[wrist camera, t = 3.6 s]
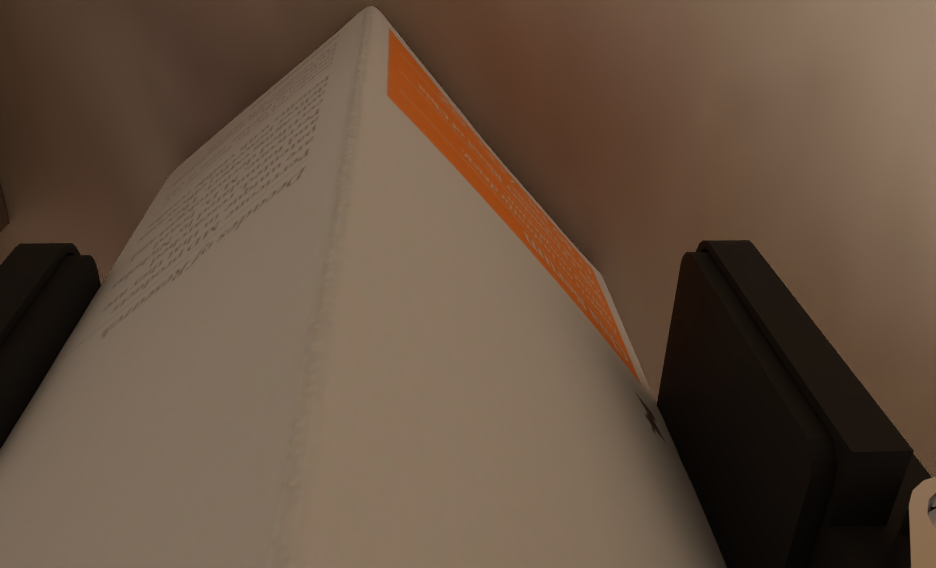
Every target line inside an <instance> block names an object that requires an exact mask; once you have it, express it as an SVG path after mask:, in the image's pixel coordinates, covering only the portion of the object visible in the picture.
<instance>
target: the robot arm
mask: <svg viewBox="0 0 936 568" xmlns="http://www.w3.org/2000/svg"><path fill="white" fill-rule="evenodd" d="M100 286H101V285H100V280H99V275H98V270H97V266H96V263H95V261H94V259H93V257H91V256H90V255H80V253H79V251H78V249H77V248H76V246H74V245H73V244H72V243H49V244H19V245H18V246H17V247H15V249H14V250H13V251H12V252H11V253H10V255H9V256H8V257H7V258H6V259H5V261H4V262H3V263H2V264H1V265H0V449H1V447H2V446H3V444H4V443H5V441H6V439H7V438H8V436H9V435H10V433H11V431H12V430H13V428H14V427H15V425H16V423H17V422H18V420H19V418H20V417H21V415H22V414H23V412H24V410H25V409H26V407H27V406H28V404H29V402H30V401H31V399H32V398H33V396H34V394H35V393H36V391H37V389H38V388H39V386H40V384H41V383H42V381H43V379H44V378H45V376H46V375H47V373H48V371H49V370H50V368H51V366H52V365H53V363H54V361H55V360H56V358H57V356H58V355H59V353H60V351H61V350H62V348H63V346H64V345H65V343H66V341H67V340H68V338H69V337H70V335H71V333H72V332H73V330H74V329H75V327H76V326H77V324H78V322H79V321H80V319H81V317H82V316H83V314H84V312H85V311H86V309H87V307H88V306H89V304H90V302H91V301H92V299H93V298H94V296H95V294H96V293H97V291H98V290H99V288H100ZM657 407H658V409H659V411H660V413H661V415H662V417H663V419H664V422H665V424H666V426H667V429H668V431H669V434H670V436H671V438H672V440H673V442H674V444H675V447H676V449H677V452H678V454H679V457H680V459H681V462H682V464H683V466H684V468H685V470H686V472H687V475H688V477H689V479H690V481H691V483H692V485H693V488H694V490H695V492H696V495H697V497H698V499H699V502H700V504H701V506H702V509H703V511H704V513H705V516H706V518H707V521H708V523H709V525H710V528H711V530H712V533H713V535H714V537H715V540H716V542H717V545H718V547H719V549H720V552H721V554H722V557H723V559H724V562H725V564H726V566H727V568H936V477H933V478H932V477H931V476H930V475H929V473H928V472H927V471H926V470H925V468H924V467H923V466H922V464H921V463H920V462H919V460H918V459H917V458H916V457H915V455H914V454H913V449H912V448H911V447H910V445H909V444H908V443H907V442H906V440H905V439H904V438H903V436H902V435H901V434H900V433H899V431H898V430H897V429H896V427H895V426H894V425H893V424H892V422H891V421H890V420H889V418H888V417H887V416H886V415H885V413H884V412H883V411H882V409H881V408H880V407H879V406H878V404H877V403H876V402H875V400H874V399H873V398H872V397H871V395H870V394H869V393H868V391H867V390H866V389H865V388H864V386H863V385H862V384H861V382H860V381H859V380H858V379H857V377H856V376H855V375H854V373H853V372H852V371H851V370H850V368H849V367H848V366H847V364H846V363H845V362H844V361H843V359H842V358H841V357H840V355H839V354H838V353H837V352H836V350H835V349H834V348H833V346H832V345H831V344H830V343H829V341H828V340H827V339H826V337H825V336H824V335H823V334H822V332H821V331H820V330H819V328H818V327H817V326H816V325H815V323H814V322H813V321H812V319H811V318H810V317H809V316H808V314H807V313H806V312H805V310H804V309H803V308H802V307H801V305H800V304H799V303H798V301H797V300H796V299H795V298H794V296H793V295H792V294H791V292H790V291H789V290H788V289H787V287H786V286H785V285H784V283H783V282H782V281H781V280H780V278H779V277H778V276H777V274H776V273H775V272H774V271H773V269H772V268H771V267H770V265H769V264H768V263H767V262H766V260H765V259H764V258H763V256H762V255H761V254H760V253H759V251H758V250H757V249H756V247H755V246H754V245H753V244H752V243H751V242H750V241H749V240H740V241H702V242H701V243H700V244H699V246H698V248H697V250H696V252H686V253H685V254H684V256H683V258H682V262H681V266H680V272H679V278H678V284H677V289H676V295H675V301H674V307H673V313H672V319H671V325H670V331H669V336H668V342H667V348H666V354H665V360H664V366H663V372H662V378H661V383H660V389H659V395H658V401H657Z"/></svg>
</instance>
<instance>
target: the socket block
mask: <svg viewBox="0 0 936 568" xmlns="http://www.w3.org/2000/svg"><path fill="white" fill-rule="evenodd" d="M8 224H9V219H8V215H7V211H6V207H5V203H4V199H3V195H2V191H1V187H0V232H1V231H2V230H3V229H4V228H5V227H6V226H7V225H8Z"/></svg>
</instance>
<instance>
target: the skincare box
mask: <svg viewBox="0 0 936 568" xmlns="http://www.w3.org/2000/svg"><path fill="white" fill-rule="evenodd" d="M0 568H727V566H726V564H725V562H724V559H723V557H722V554H721V552H720V549H719V547H718V545H717V542H716V540H715V537H714V535H713V533H712V530H711V528H710V525H709V523H708V521H707V518H706V516H705V513H704V511H703V509H702V506H701V504H700V502H699V499H698V497H697V495H696V492H695V490H694V488H693V485H692V483H691V481H690V479H689V477H688V475H687V472H686V470H685V468H684V466H683V464H682V462H681V459H680V457H679V454H678V452H677V449H676V447H675V444H674V442H673V440H672V438H671V436H670V434H669V431H668V429H667V426H666V424H665V422H664V419H663V417H662V415H661V413H660V411H659V409H658V407H657V404H656V402H655V400H654V397H653V395H652V392H651V390H650V388H649V385H648V383H647V381H646V378H645V376H644V373H643V371H642V368H641V366H640V363H639V361H638V359H637V356H636V354H635V351H634V349H633V347H632V344H631V342H630V340H629V338H628V335H627V333H626V331H625V328H624V326H623V324H622V321H621V318H620V316H619V314H618V312H617V310H616V307H615V305H614V303H613V300H612V298H611V295H610V293H609V291H608V288H607V286H606V284H605V281H604V279H603V277H602V275H601V274H600V273H599V271H598V270H597V269H596V268H595V267H594V266H593V265H592V264H591V263H590V262H589V261H588V260H587V259H586V257H585V256H584V255H583V254H582V253H581V252H580V251H579V250H578V249H577V248H576V246H575V245H574V244H573V243H572V242H571V241H570V240H569V239H568V238H567V236H566V235H565V234H564V233H563V232H562V231H561V229H560V228H559V227H558V226H557V225H556V224H555V222H554V221H553V220H552V219H551V218H550V217H549V215H548V214H547V213H546V212H545V211H544V210H543V208H542V207H541V206H540V205H539V204H538V203H537V202H536V200H535V199H534V198H533V197H532V196H531V195H530V193H529V192H528V191H527V190H526V189H525V188H524V187H523V185H522V184H521V183H520V182H519V181H518V180H517V179H516V177H515V176H514V175H513V174H512V173H511V172H510V171H509V169H508V168H507V167H506V166H505V165H504V164H503V163H502V161H501V160H500V159H499V158H498V157H497V155H496V154H495V153H494V152H493V151H492V149H491V148H490V147H489V146H488V145H487V143H486V142H485V141H484V140H483V139H482V138H481V136H480V135H479V134H478V133H477V131H476V130H475V129H474V127H473V126H472V125H471V124H470V122H469V121H468V120H467V118H466V117H465V116H464V115H463V113H462V112H461V111H460V110H459V109H458V107H457V106H456V105H455V104H454V103H453V101H452V100H451V99H450V98H449V96H448V95H447V94H446V92H445V91H444V90H443V89H442V87H441V86H440V85H439V84H438V82H437V81H436V80H435V79H434V78H433V76H432V75H431V74H430V73H429V71H428V70H427V69H426V68H425V66H424V65H423V64H422V63H421V62H420V60H419V59H418V58H417V57H416V55H415V54H414V53H413V52H412V51H411V49H410V48H409V47H408V46H407V44H406V43H405V42H404V40H403V39H402V38H401V37H400V35H399V34H398V33H397V32H396V30H395V29H394V28H393V27H392V25H391V24H390V23H389V22H388V20H387V19H386V18H385V17H384V16H383V14H382V13H381V12H380V11H379V10H378V9H377V8H376V7H374V6H368V7H366V8H364V9H363V10H362V11H361V12H359V13H358V14H356V15H355V16H354V17H353V18H352V19H351V20H350V21H349V22H348V23H347V24H345V25H344V26H343V27H342V28H341V29H340V30H339V31H338V32H337V33H336V34H334V35H333V36H332V37H331V38H330V39H328V40H327V41H326V42H325V43H324V44H322V45H321V46H320V47H319V48H318V49H316V50H315V51H314V52H313V53H312V54H311V55H309V56H308V57H307V58H306V59H305V60H303V61H302V62H301V63H300V64H299V65H297V66H296V67H295V68H294V69H293V70H291V71H290V72H289V73H288V74H287V75H285V76H284V77H283V78H282V79H281V80H279V81H278V82H277V83H276V84H275V85H273V86H272V87H271V88H270V89H269V90H267V91H266V92H265V93H264V94H263V95H262V96H260V97H259V98H258V99H257V100H256V101H254V102H253V103H252V104H251V105H250V106H248V107H247V108H246V109H245V110H244V111H242V112H241V113H240V114H239V115H238V116H237V117H235V118H234V119H233V120H232V121H231V122H229V123H228V124H227V125H226V126H225V127H224V128H222V129H221V130H220V131H219V132H218V133H217V134H215V135H214V136H213V137H212V138H211V139H210V140H208V141H207V142H206V143H205V144H204V145H203V146H201V147H200V148H199V149H198V150H197V151H196V152H194V153H193V154H192V155H191V156H190V157H189V158H187V159H186V160H185V161H184V162H183V163H182V164H180V165H179V166H178V167H177V168H176V169H175V170H174V171H173V172H172V173H171V174H170V175H169V177H168V178H167V180H166V182H165V183H164V185H163V186H162V188H161V189H160V191H159V192H158V194H157V195H156V197H155V198H154V200H153V202H152V203H151V205H150V206H149V208H148V210H147V211H146V213H145V215H144V217H143V218H142V220H141V222H140V223H139V225H138V226H137V228H136V230H135V231H134V233H133V234H132V236H131V238H130V239H129V241H128V242H127V244H126V246H125V247H124V249H123V251H122V252H121V254H120V256H119V257H118V259H117V261H116V262H115V264H114V266H113V267H112V269H111V270H110V272H109V274H108V275H107V277H106V278H105V280H104V282H103V283H102V285H101V286H100V288H99V290H98V291H97V293H96V294H95V296H94V298H93V299H92V301H91V302H90V304H89V306H88V307H87V309H86V311H85V312H84V314H83V316H82V317H81V319H80V321H79V322H78V324H77V326H76V327H75V329H74V330H73V332H72V333H71V335H70V337H69V338H68V340H67V341H66V343H65V345H64V346H63V348H62V350H61V351H60V353H59V355H58V356H57V358H56V360H55V361H54V363H53V365H52V366H51V368H50V370H49V371H48V373H47V375H46V376H45V378H44V379H43V381H42V383H41V384H40V386H39V388H38V389H37V391H36V393H35V394H34V396H33V398H32V399H31V401H30V402H29V404H28V406H27V407H26V409H25V410H24V412H23V414H22V415H21V417H20V418H19V420H18V422H17V423H16V425H15V427H14V428H13V430H12V431H11V433H10V435H9V436H8V438H7V439H6V441H5V443H4V444H3V446H2V447H1V449H0Z"/></svg>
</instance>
